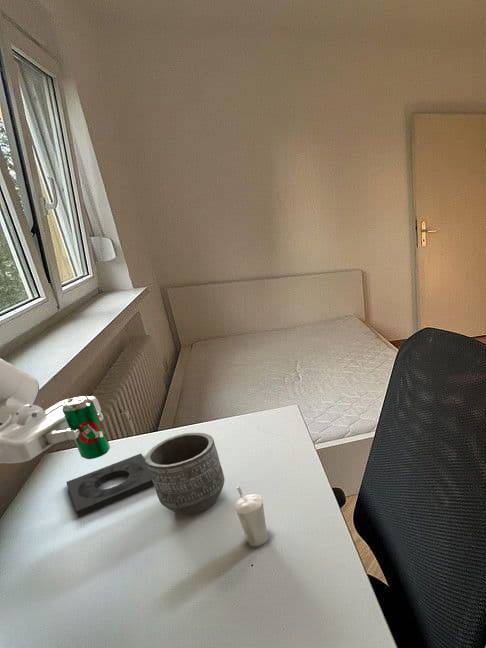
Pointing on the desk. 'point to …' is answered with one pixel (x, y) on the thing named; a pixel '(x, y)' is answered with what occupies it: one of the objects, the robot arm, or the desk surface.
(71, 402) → the soda can
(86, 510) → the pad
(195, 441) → the planter
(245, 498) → the milkshake
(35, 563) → the desk surface
